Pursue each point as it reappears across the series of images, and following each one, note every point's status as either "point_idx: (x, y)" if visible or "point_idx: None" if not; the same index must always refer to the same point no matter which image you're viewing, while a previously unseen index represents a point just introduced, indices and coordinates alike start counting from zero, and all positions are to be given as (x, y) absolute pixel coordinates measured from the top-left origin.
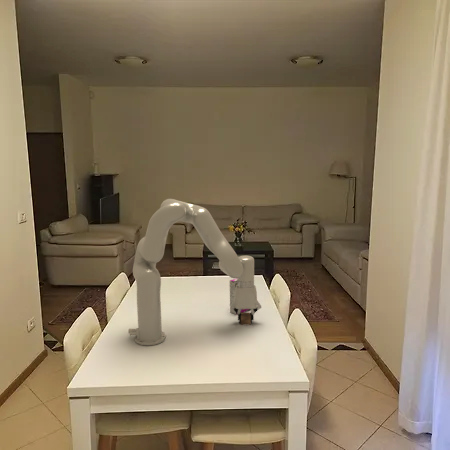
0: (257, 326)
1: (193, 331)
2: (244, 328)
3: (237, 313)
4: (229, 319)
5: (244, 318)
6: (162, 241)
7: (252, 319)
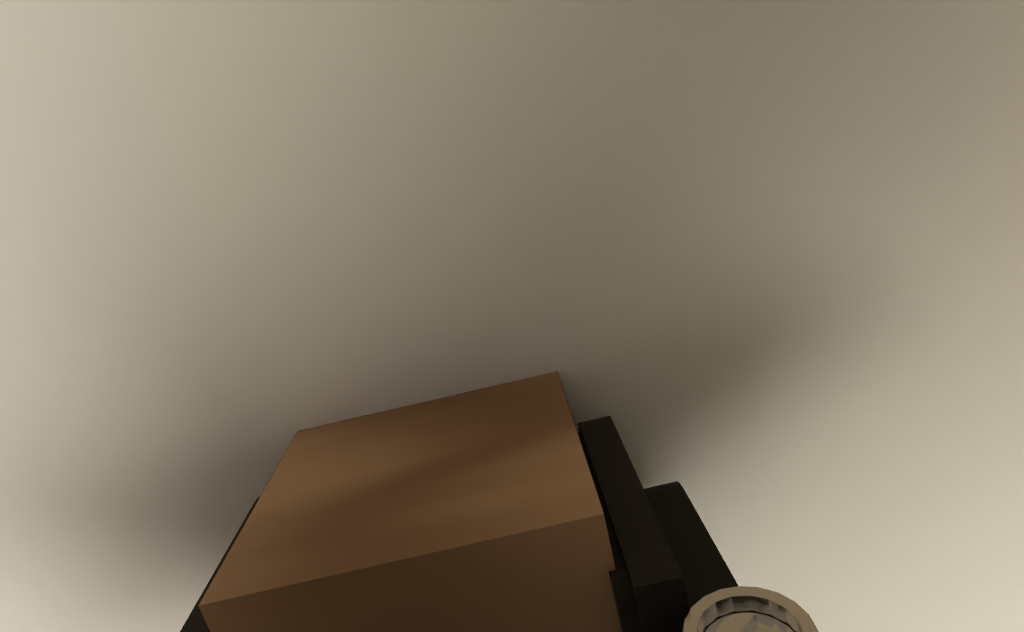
0: (79, 379)
1: None
2: (400, 157)
3: (799, 615)
4: (888, 582)
5: (455, 493)
6: None
7: None
